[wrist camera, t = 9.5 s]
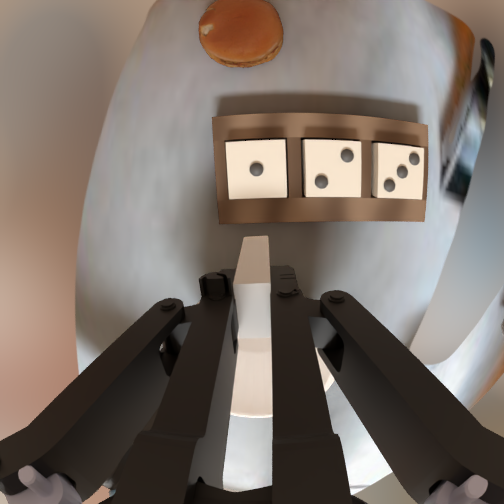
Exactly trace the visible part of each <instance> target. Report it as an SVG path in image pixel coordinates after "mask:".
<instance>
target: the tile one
mask: <svg viewBox="0 0 504 504" xmlns="http://www.w3.org/2000/svg"><path fill="white" fill-rule="evenodd" d="M225 143H226V159H227V175H228V190H229V199H250V198H282V197H287V178H286V150H285V140H257V141H239V142H225Z"/></svg>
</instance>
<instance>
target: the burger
mask: <svg viewBox="0 0 504 504" xmlns="http://www.w3.org/2000/svg"><path fill="white" fill-rule="evenodd" d="M206 10H207V11H206V12H205V13H204V15H203V16H202V17H201V19H200V21H199V38H200V42H201V44H202V46H203V48H204V49H205V51H206V53H207V54H208V55H209V56H210V57H211V58H212V59H214V60H215V61H216V62H218V63H220V64H222V65H225V66H228V67H242V68H244V67H252V66H255V65H258V64H262V63H264V62H268V61H270V60H272V59H273V58H275V56H276V55H277V54H278V53H279V51H280V49H281V47H282V43H283V27H282V24H281V21H280V18H279V15H278V13H277V11H276V9H275V8H274V7H273V6H272V5H271V4H270V3H268V2H266V1H264V0H217V1H215V2H214V3H213V4H211V5H210V6H209V7H208V8H207V9H206Z"/></svg>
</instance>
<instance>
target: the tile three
mask: <svg viewBox="0 0 504 504" xmlns="http://www.w3.org/2000/svg"><path fill="white" fill-rule="evenodd" d="M371 149H372V172H371V195H373V196H375V197H377V198H399V199H420V200H422V193H423V174H424V148H419V147H411V146H403V145H394V144H384V143H371Z"/></svg>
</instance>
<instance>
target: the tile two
mask: <svg viewBox="0 0 504 504" xmlns="http://www.w3.org/2000/svg"><path fill="white" fill-rule="evenodd" d="M301 157H302V192H303V194H304V195H305V196H306V197H361V142H359V141H341V140H301Z"/></svg>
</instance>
